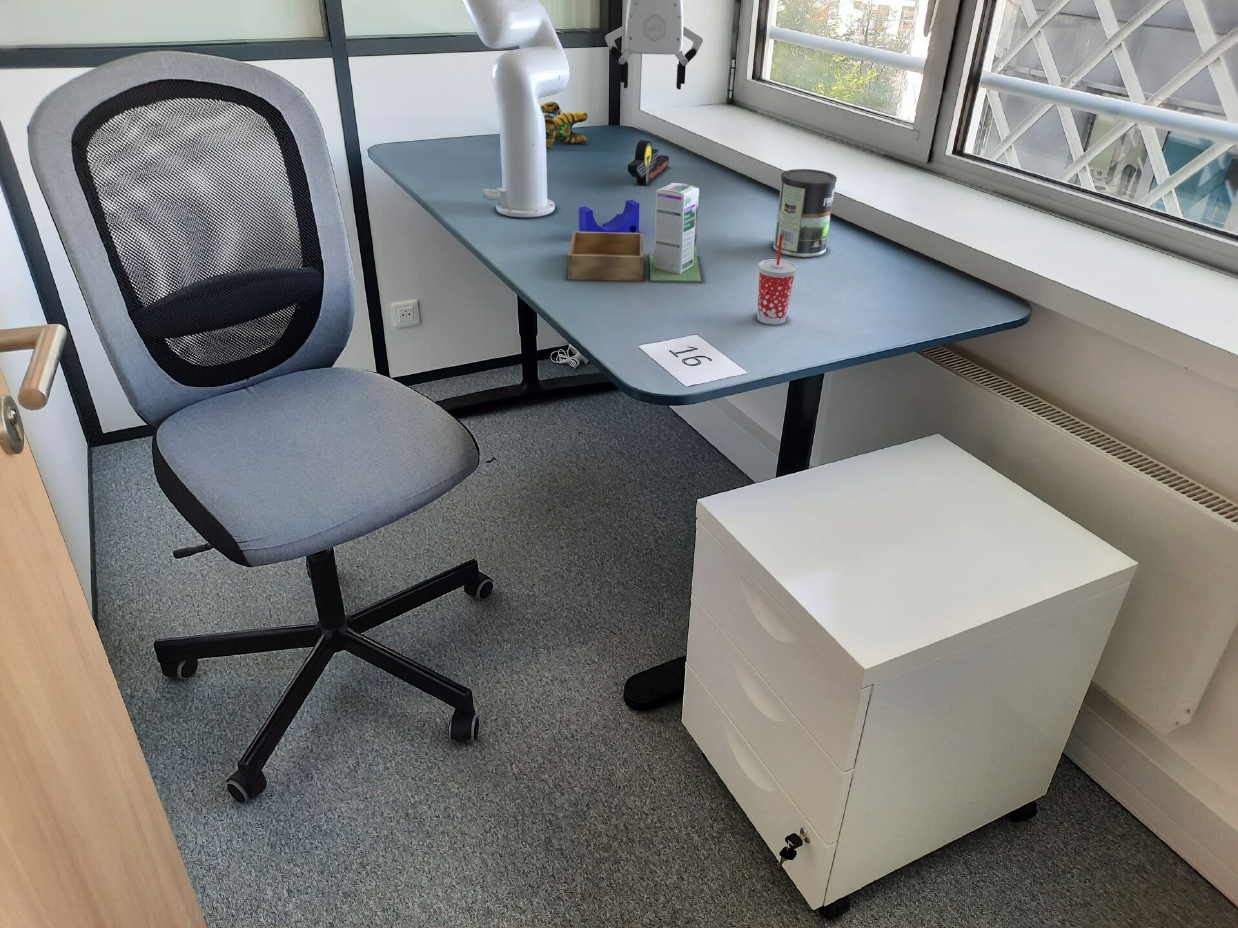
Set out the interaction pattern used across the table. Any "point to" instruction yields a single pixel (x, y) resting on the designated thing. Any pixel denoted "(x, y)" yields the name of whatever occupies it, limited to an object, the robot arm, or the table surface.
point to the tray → (606, 256)
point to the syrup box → (676, 227)
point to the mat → (685, 276)
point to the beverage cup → (775, 288)
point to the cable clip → (618, 224)
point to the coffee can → (804, 212)
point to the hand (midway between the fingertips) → (652, 87)
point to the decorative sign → (647, 163)
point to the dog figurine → (561, 125)
